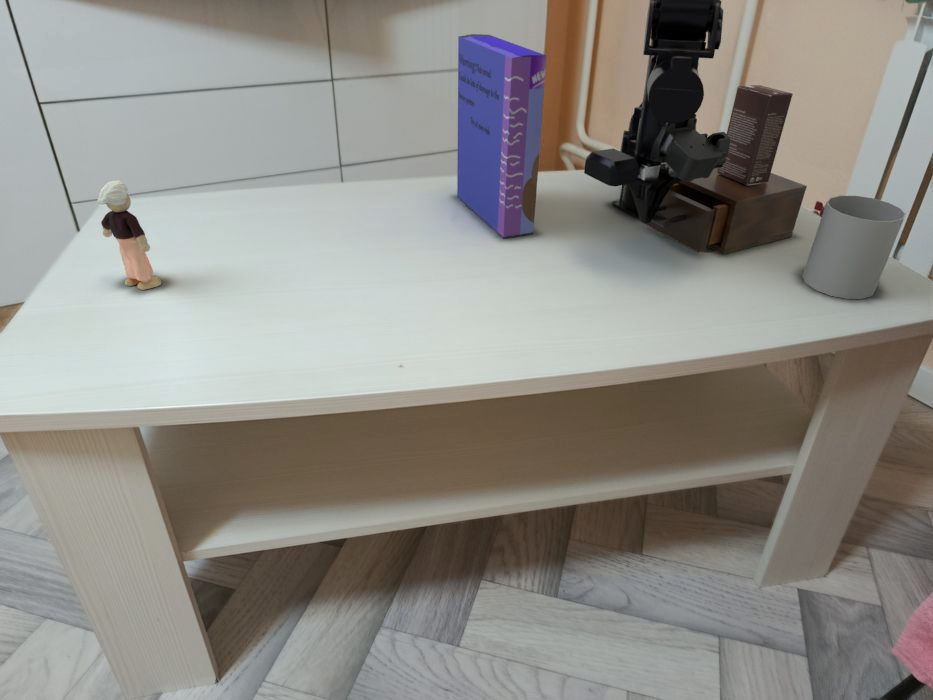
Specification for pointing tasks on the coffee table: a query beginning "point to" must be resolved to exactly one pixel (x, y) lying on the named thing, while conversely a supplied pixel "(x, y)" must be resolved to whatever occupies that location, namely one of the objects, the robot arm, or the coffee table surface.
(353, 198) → the coffee table surface
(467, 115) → the cereal box
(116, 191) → the grandmother figurine
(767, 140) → the box
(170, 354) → the coffee table surface
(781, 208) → the cabinet
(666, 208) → the drawer
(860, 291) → the cup
